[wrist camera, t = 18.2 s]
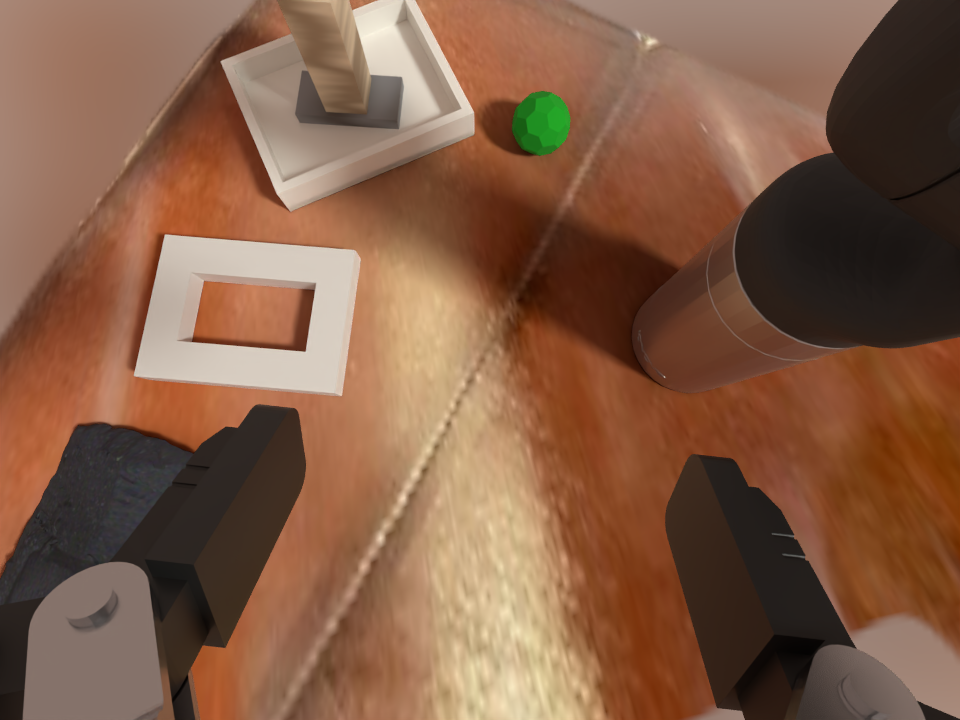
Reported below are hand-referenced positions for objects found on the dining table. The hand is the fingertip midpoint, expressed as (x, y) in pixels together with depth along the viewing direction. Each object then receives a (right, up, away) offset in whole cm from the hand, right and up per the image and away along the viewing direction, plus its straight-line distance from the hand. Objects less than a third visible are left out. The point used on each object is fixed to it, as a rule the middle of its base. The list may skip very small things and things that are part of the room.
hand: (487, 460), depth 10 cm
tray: (-12, +25, +36) cm, 45 cm away
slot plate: (-19, +6, +32) cm, 38 cm away
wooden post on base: (-12, +25, +35) cm, 45 cm away
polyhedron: (+5, +22, +36) cm, 42 cm away
